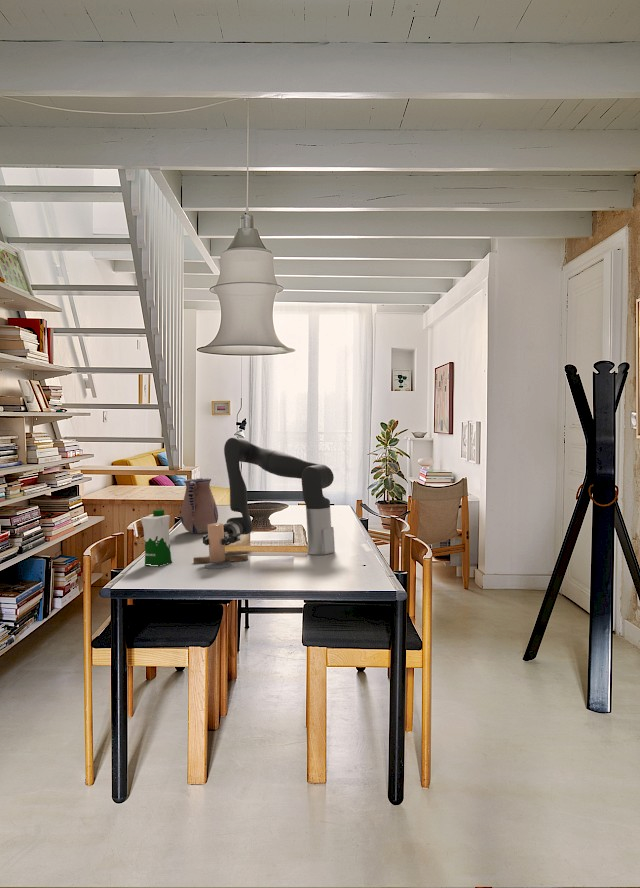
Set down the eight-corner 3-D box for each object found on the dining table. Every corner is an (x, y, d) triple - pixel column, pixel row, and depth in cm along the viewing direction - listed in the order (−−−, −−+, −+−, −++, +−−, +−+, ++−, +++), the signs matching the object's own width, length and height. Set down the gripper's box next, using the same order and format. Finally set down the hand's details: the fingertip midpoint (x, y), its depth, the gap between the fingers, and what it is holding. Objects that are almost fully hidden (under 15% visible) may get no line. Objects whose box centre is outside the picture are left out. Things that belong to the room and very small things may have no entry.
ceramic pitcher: (220, 527, 348) (217, 476, 347) (217, 535, 327) (213, 480, 326) (183, 530, 347) (180, 478, 346) (178, 537, 326) (174, 482, 325)
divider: (248, 559, 268) (247, 554, 268) (247, 560, 267) (247, 554, 267) (194, 562, 268) (193, 557, 268) (193, 563, 267) (193, 558, 266)
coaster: (238, 564, 260) (238, 563, 260) (217, 570, 253) (217, 568, 253) (219, 561, 267) (218, 560, 267) (198, 567, 259) (198, 566, 259)
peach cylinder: (228, 559, 260) (226, 523, 259) (217, 562, 256) (215, 526, 255) (218, 557, 264) (215, 522, 263) (206, 561, 259) (204, 525, 259)
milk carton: (175, 562, 271) (171, 509, 270) (159, 567, 263) (155, 513, 262) (157, 561, 275) (153, 509, 274) (140, 566, 267) (137, 512, 266)
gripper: (208, 524, 274) (194, 532, 258) (245, 523, 272) (233, 531, 256) (210, 543, 275) (195, 553, 258) (246, 542, 273) (234, 552, 256)
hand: (214, 542), depth 257 cm, fingers closed on peach cylinder, 5 cm apart
